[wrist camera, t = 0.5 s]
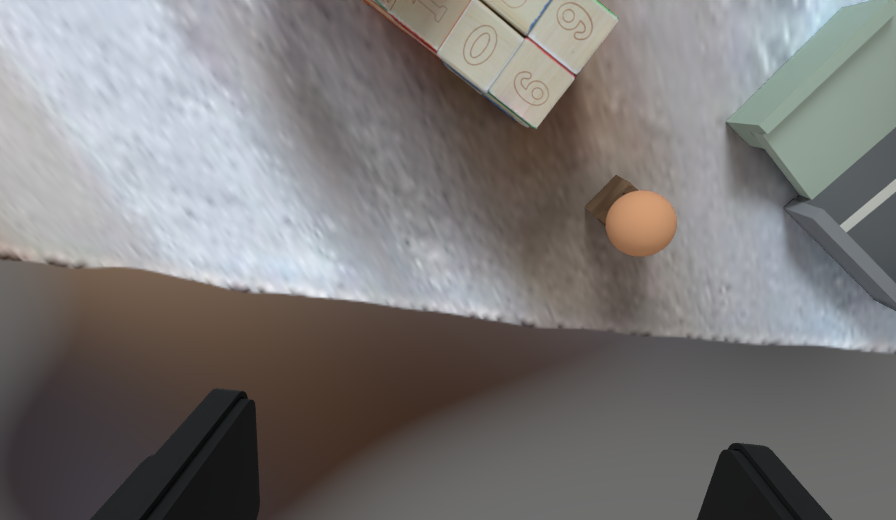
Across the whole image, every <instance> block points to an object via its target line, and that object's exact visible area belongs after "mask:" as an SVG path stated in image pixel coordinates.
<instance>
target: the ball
mask: <svg viewBox="0 0 896 520" xmlns="http://www.w3.org/2000/svg"><path fill="white" fill-rule="evenodd" d="M676 228H677V218H676V213H675V211H674V209H673V207H672V205H671V204H670V203H669V201H668V200H666V199H665V198H664V197H663V196H661V195H659V194H657V193H654V192H651V191H633V192H630V193H627V194H625V195H623V196H622V197H620V198H619V199H618V200H616V201H615V202H614V204H613V205H612V206H611V208H610V209H609V211H608V214H607V217H606V232H607V235H608V238H609V240H610V241H611V243H612V244H613V245H614V246H615V247H616V248H617V249H618V250H620V251H621V252H623V253H625V254H628V255H631V256H637V257H643V256H649V255H653V254H655V253H657V252H659V251H661V250H662V249H664V248H665V247H666V246H667V245H668V244H669V243H670V242H671V240H672V239H673V237H674V234H675V232H676Z"/></svg>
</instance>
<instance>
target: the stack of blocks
mask: <svg viewBox="0 0 896 520" xmlns="http://www.w3.org/2000/svg"><path fill="white" fill-rule="evenodd" d="M362 1H363V2H364V3H365V4H367V5H371V6H372V7H374V8H375V9H376V10H377V11H378V12H380V13H381V14H382V15H384V16H385V17H386V18H387V19H389V20H390V21H391V22H392V23H394V24H395V25H396V26H397V27H399V28H400V29H401V30H402V31H404V32H405V33H406V34H408V35H410V36H412V37H413V38H414V39H415V40H416V41H418V42H419V43H420V44H421V45H423V46H424V47H425V48H426V49H428V50H429V51H430V52H432V53H433V54H434V55H435V56H437V57H438V58H439V59H440V60H442V62H443V63H444V65H445V66H446V67H447V68H448V69H449V70H451V71H452V72H453V73H454V74H456V75H457V76H458V77H459V78H461V79H462V80H463V81H464V82H466V83H467V84H468V85H469V86H471V87H472V88H473V89H474V90H476V91H477V92H478V93H479V94H481V95H483V96H485V97H486V98H487V99H488V100H490V101H491V102H492V103H493V104H495V105H496V106H497V107H498V108H500V109H501V110H502V111H503V112H505V113H506V114H507V115H509V116H510V117H511V118H512V119H514V120H515V121H516V122H518V123H520V124H521V125H523V126H525V127H527V128H528V127H532V128H534V129H537V127H538V126H539V125H540V123H541V122H542V121H543V120H544V118H545V117H546V116H547V114H548V113H549V112H550V111H551V109H552V108H553V107H554V105H555V104H556V103H557V101H558V100H559V99H560V97H561V96H562V95H563V94H564V93H565V91H566V90H567V89H568V87H569V86H570V85H571V83H572V82H573V81H574V79H575V77H576V75H577V74H578V73H579V71H580V70H581V69H582V68H583V66H584V65H585V64H586V63H587V61H588V60H589V59H590V58H591V56H592V55H593V54H594V52H595V51H596V50H597V48H598V47H599V46H600V44H601V43H602V42H603V41H604V39H605V38H606V37H607V35H608V34H609V33H610V31H611V30H612V29H613V28H614V26H615V25H616V24H617V22H618V21H619V19H618V18H617V16H616V15H615V14H613V13H612V12H611V11H610V10H608V9H607V8H606V7H605V6H604V5H603V4H601V3H600V2H599V1H598V0H362Z"/></svg>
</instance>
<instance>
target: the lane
mask: <svg viewBox="0 0 896 520" xmlns="http://www.w3.org/2000/svg"><path fill="white" fill-rule="evenodd" d="M784 209H785V210H786V211H787V212H788V213H789V214H790V215H791V216H792V217H793V218H794V219H795V220H796V221H797V222H798V223H799V224H800V225H801V226H802V227H803V228H804V229H805V230H806V231H807V232H808V233H809V234H810V235H811V236H812V237H813V238H814V239H815V240H816V241H817V242H818V243H819V244H820V245H821V246H822V247H823V248H824V249H825V250H826V251H827V252H828V253H829V254H830V255H831V256H832V257H833V258H834V259H835V260H836V261H837V262H838V263H839V264H840V265H841V266H842V267H843V268H844V269H845V270H846V271H847V272H848V273H849V274H850V275H851V276H852V277H853V278H854V279H855V280H856V281H857V282H858V283H859V284H860V285H861V286H862V287H863V288H864V289H865V290H866V291H867V292H868V293H869V294H870V295H871V296H872V297H873V298H874V299H875V300H876V301H877V302H879V303H881V304H883V305H885V306H887V307H889V308H891V309H893V310H895V311H896V127H895V128H894V129H893V130H892V131H891V132H890V133H888V134H887V135H886V136H885V137H884V138H883V139H882V140H880V141H879V142H878V143H877V144H876V145H875V146H873V147H872V148H871V149H870V150H869V151H868V152H867V153H865V154H864V155H863V156H862V157H861V158H860V159H859V160H857V161H856V162H855V163H854V164H853V165H852V166H850V167H849V168H848V169H847V170H846V171H845V172H844V173H842V174H841V175H840V176H839V177H838V178H837V179H835V180H834V181H833V182H832V183H831V184H830V185H829V186H827V187H826V188H825V189H824V190H823V191H822V192H821V193H819V194H818V195H817V196H816V197H815V198H814V199H812V200H811V199H808V198H806V197H804V196H801V195H800V196H798V197H797V198H796V199H795V200H792V201H791V202H790V203H788V204H787V205H786V206H785V207H784Z"/></svg>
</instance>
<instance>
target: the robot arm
mask: <svg viewBox="0 0 896 520" xmlns="http://www.w3.org/2000/svg"><path fill="white" fill-rule="evenodd" d="M259 507H260V495H259V473H258V452H257V430H256V409H255V402H254V401H253V400H250V399H248V398H247V394H246V392H244V391H237V390H228V389H218V388H217V389H213V390H212V391H211V392H210V393H209V394H208V395H207V396H206V397H205V399H204V400H203V401H202V402H201V403H200V404H199V405H198V406H197V408H196V409H195V410H194V411H193V412H192V413H191V414H190V415H189V416H188V418H187V419H186V420H185V421H184V422H183V423H182V424H181V426H180V427H179V428H178V429H177V430H176V431H175V432H174V433H173V434H172V436H171V437H170V438H169V439H168V440H167V441H166V442H165V444H164V445H163V446H162V447H161V448H160V449H159V450H158V451H157V452H156V454H154V455H151V456H149V457H148V458H147V459H146V460H144V461H143V462H142V463H141V464H140V465H139V466H138V467H137V468H136V469H135V471H134V472H133V473H132V474H131V475H130V476H129V477H128V478H127V479H126V481H125V482H124V483H123V484H122V485H121V486H120V487H119V488H118V489H117V490H116V492H115V493H114V494H113V495H112V496H111V497H110V498H109V499H108V500H107V502H106V503H105V504H104V505H103V506H102V507H101V508H100V509H99V510H98V511H97V513H96V514H95V515H94V516H93V517H92V518H91V519H90V520H256V519H257V516H258V512H259ZM697 520H832V519H831V518H830V516H829V515H828V514H827V513H826V512H825V511H824V510H823V509H822V507H821V506H820V505H819V504H818V503H817V502H816V501H815V499H814V498H813V497H812V496H811V495H810V494H809V492H808V491H807V490H806V489H805V488H804V487H803V486H802V485H801V484H800V482H799V481H798V480H797V479H796V478H795V476H794V475H793V474H792V473H791V472H790V471H789V470H788V469H787V467H786V466H785V465H784V464H783V463H782V462H781V460H780V459H779V458H778V457H777V456H776V455H775V454H774V452H773V451H772V450H770V449H769V448H768V447H766V446H761V445H752V444H741V443H733V444H731V445H730V446H729V448H728V450H723V451H722V452H721V454H720V456H719V459H718V461H717V464H716V467H715V470H714V473H713V476H712V478H711V481H710V484H709V487H708V490H707V493H706V496H705V498H704V501H703V504H702V507H701V510H700V513H699V516H698V518H697Z"/></svg>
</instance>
